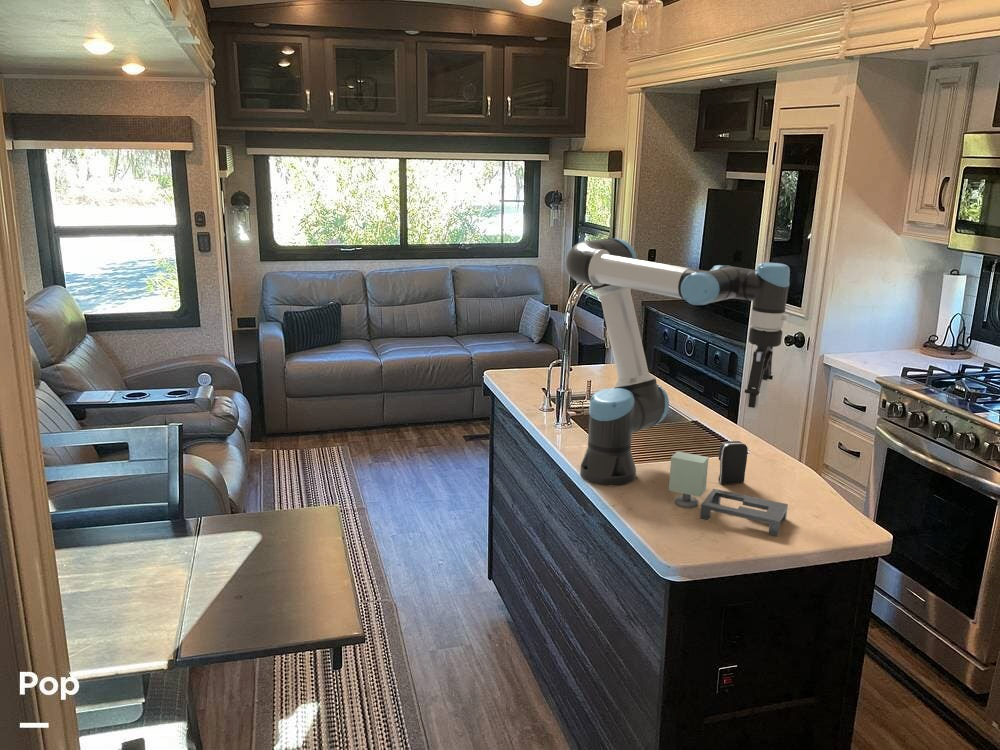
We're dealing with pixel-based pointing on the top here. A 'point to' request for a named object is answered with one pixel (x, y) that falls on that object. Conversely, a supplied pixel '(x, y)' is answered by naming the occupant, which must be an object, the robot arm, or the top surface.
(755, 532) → the top surface
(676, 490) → the pale green boxy piece
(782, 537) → the top surface
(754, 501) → the keyhole plate
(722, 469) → the battery charger
